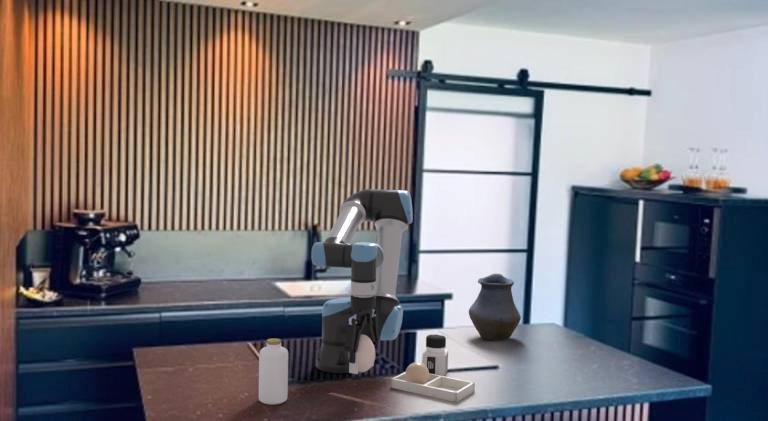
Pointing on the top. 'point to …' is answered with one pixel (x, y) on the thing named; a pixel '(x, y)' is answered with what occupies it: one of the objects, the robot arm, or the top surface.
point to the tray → (436, 387)
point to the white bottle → (273, 373)
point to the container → (436, 354)
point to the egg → (365, 353)
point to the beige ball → (417, 373)
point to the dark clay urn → (495, 308)
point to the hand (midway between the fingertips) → (361, 369)
